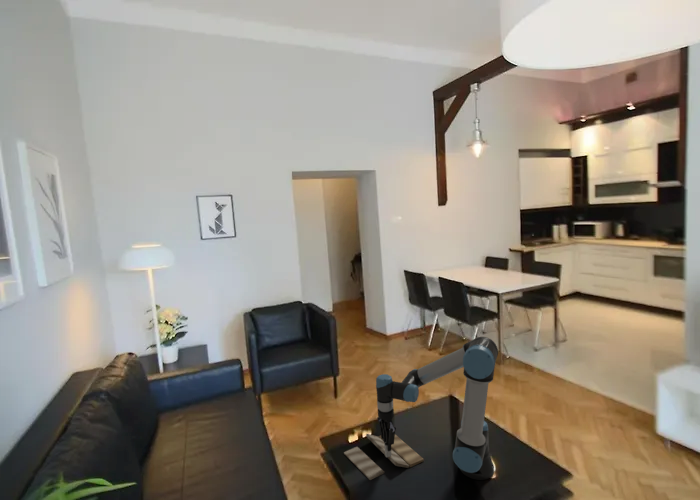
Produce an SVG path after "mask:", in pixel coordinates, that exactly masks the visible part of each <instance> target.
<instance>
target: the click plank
mask: <svg viewBox="0 0 700 500" xmlns="http://www.w3.org/2000/svg"><path fill="white" fill-rule="evenodd" d="M365 437H366V438H367V439H368V440H369V441H371V443H372V444H373V445H374V446H375V447H376V448H377V449H378V450H379V451H380V452H381V453H382V454H384V456H385V447H384V441H383V440H382V439H381V438H379V436H378V435H373V434H371V433H366V435H365ZM391 454H392V456H389V457H386V458H387V459H388V460H389V461H390V462H391V463H392V464H393V465H394V466H396V467H400V468H401V467H402V468H407V469H409V468H410V467H409V465H408V464H407V463H406V462H405V461H404V460H403V459H402V458H401V457H400V456H399V455H397V454H396V453H395V452H394V451H393V450H392V449H391Z"/></svg>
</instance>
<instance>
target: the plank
mask: <svg viewBox="0 0 700 500" xmlns="http://www.w3.org/2000/svg"><path fill="white" fill-rule="evenodd" d="M343 455H345V457H346V458H348V459H349V460H350V462H352V464H354V466H356V468H358V470H359V471H360V472H361V473H363V475H364V476H365V477H366V478H367V479H368V480H369V481H372V480H373V479H375V478H377V477H380V476H382V475H383V474H385V470H383V469H382V468H381V467H380V466H379V465H378V464H377V463H376V462H374V460H372V459H371V457H370V456H368V455H367V454H366V453H365V452H364V451H363V450H362V449H360V447H358V446H355V447H352V448H350V449H347V450H346V451H344V452H343Z"/></svg>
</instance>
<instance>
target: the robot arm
mask: <svg viewBox="0 0 700 500" xmlns="http://www.w3.org/2000/svg"><path fill="white" fill-rule="evenodd" d="M498 356H499V350H498V346H497V344H496V343H495V341H494V340H492V339H491V338H489V337H487V336H478V337H475V338H474V339H472V340H469V341H468V342H466V343H464V344H463V345H462V347H461V348H459V349H457V350H455V351H453V352H451V353H449V354H446V355H445V356H443V357H440V358H438V359H436V360H434V361H432V362H430V363H428V364H426V365H424V366H422V367H420V368H414V369H412V370H411V371H409V372H408V373H407V375H406V376H405V378H404V379H403V380H402V381H394V380H393V377H392V375H389V374H386V373H384V374H383V373H382V374H380V375H377V377H376V378H375V379H376V380H375V381H376V382H375V384H376V385H375V388H376V403H377V404H376V405H377V406H376V407H377V416H378V417H377V418H376V419H377V422H378V427H379V432H380V435H381V438H382V439H383V441H384V447H385V455H384V457H385V458H387V457H389V456H392V454H391V445H392V444H394V438H395V435H396V431H397V428H396V426H394V425H393V424H394V423H393V418H394V416H395V410H394V400H398V401H403V402H406V403H407V402H408V403H416V402H417V401H418V399H419V394H420V389H419V388H420V387H422V386H425V385H427V384H428V383H431V382H433V381H435V380H438V379H440V378H442V377H445V376H447V375H449V374H452V373H454V372H456V371H458V370H460V369H462V368H463V375H464V377H465V378H466V380H465V381H466V382H465V388H464V389H465V390H464V391H465V392H464V398H463V399H464V400H463V406H462V407H463V409H462V415H461V417H462V418H461V422H460V428H459V429H457V431H456V437H455V444H454V449H453V451H452V460H453V462H454V463H455V465H456V466H457V468H459V470H460V472H461V473H462V474H463V475H464V476H465V477H467V478H470V479H473V480H477V481H484V480H488V479H491V478H492V477H493V476H494V474H495V465H494V463H493V460H492V457H491V454H490V447H489V446H490V445H489V444H490V442H489V424H488V423H487V421H485V415H486V406H487V398H488V393H489V392H488V390H489V383H491V382H493V380H494V375H495V366H496V362H497V358H498Z"/></svg>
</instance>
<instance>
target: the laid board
mask: <svg viewBox="0 0 700 500" xmlns="http://www.w3.org/2000/svg"><path fill="white" fill-rule="evenodd" d="M378 437H379V438H381V434H380V435H379V436H378ZM381 439H382V438H381ZM382 440H383V439H382ZM391 449H392V450H393V451H394V452H395V453H396V454H397V455H399V456H400V457H401V458H402V459H403V460H404V461H405V462H406V463H407V464H408V465H409V468H412V467H414V466H416V465H419V464H422V463H423V462H424V460H425V459H424V458H423V457H422V456H421V455H420V454H418V453H417V452H416V450H414V449H413V448H411V446H409V445H408V444H407V443H406V442H404V441H403V440H402V439H401V438H400V437H399V436H398V435H397V434H395V438H394V444H392V445H391Z"/></svg>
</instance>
